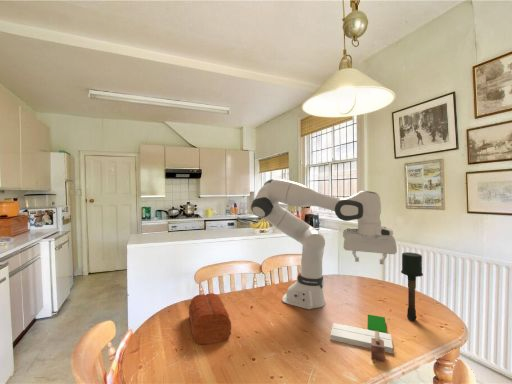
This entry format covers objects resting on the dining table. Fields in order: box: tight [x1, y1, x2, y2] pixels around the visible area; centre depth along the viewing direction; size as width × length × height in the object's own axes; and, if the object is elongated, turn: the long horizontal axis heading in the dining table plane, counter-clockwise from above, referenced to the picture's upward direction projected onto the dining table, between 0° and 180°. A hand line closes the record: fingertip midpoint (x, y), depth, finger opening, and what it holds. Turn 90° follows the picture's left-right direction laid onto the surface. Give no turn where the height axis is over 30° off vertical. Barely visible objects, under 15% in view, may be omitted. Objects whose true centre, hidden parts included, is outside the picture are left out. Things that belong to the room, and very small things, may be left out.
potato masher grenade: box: [400, 251, 424, 322], centre depth 120 cm, size 8×9×30 cm
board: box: [329, 322, 394, 354], centre depth 104 cm, size 22×10×2 cm, turn 66°
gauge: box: [370, 331, 385, 363], centre depth 97 cm, size 4×13×6 cm, turn 157°
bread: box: [188, 292, 232, 345], centre depth 114 cm, size 16×27×11 cm, turn 19°
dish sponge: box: [367, 314, 388, 334], centre depth 113 cm, size 7×14×2 cm, turn 156°
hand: (369, 262), depth 109 cm, fingers open, 8 cm apart
